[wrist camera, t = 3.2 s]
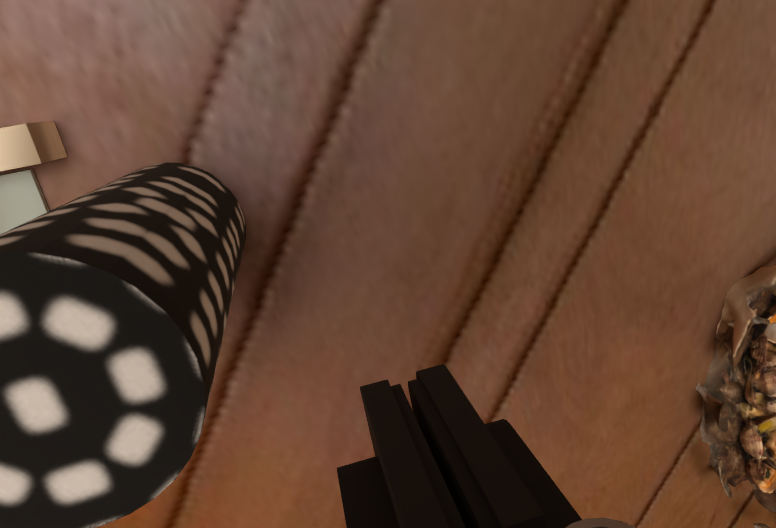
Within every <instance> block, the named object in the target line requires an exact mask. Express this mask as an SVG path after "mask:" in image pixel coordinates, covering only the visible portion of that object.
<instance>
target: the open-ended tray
mask: <svg viewBox="0 0 776 528" xmlns="http://www.w3.org/2000/svg"><path fill="white" fill-rule="evenodd" d="M65 157H67V154H66V152H65V149H64V146H63V144H62V141H61V138H60V136H59V133H58V131H57V128H56V125H55V123H54V122H41V123H28V124H21V125H16V126H10V127H5V128H0V171H5V170H10V169H15V168H20V167H25V166H31V165H36V164H41V163H45V162H49V161H53V160H57V159H61V158H65ZM49 211H50V210H49V208H48V205H47V203H46V200H45V198H44V195H43V193H42V191H41V188H40V186H39V183H38V181H37V178H36V176H35V173H34V171H33V169H31V170H26V171H21V172H16V173H11V174H5V175H0V234H2V233H4V232H7V231H9V230H11V229H13V228H15V227H17V226H19V225H21V224H24V223H26V222H28V221H30V220H32V219H34V218H36V217H38V216H41V215H43V214H45V213H47V212H49Z"/></svg>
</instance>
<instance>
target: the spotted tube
mask: <svg viewBox="0 0 776 528" xmlns="http://www.w3.org/2000/svg"><path fill="white" fill-rule="evenodd" d="M245 239H246V225H245V221H244V216H243V212H242V210H241V208H240V206H239V203H238V201H237V200H236V198H235V197H234V195H233V194H232V193H231V191H230V190H229V189H228V188H227V187H226V186H225V185H224V184H223V183H222V182H221V181H220V180H219V179H217V178H216V177H214V176H213V175H211V174H210V173H208V172H206V171H204V170H201V169H199V168H197V167H194V166H190V165H185V164H181V163H161V164H154V165H150V166H147V167H144V168H141V169H139V170H136V171H134V172H132V173H130V174H128V175H126V176H124V177H121V178H119V179H117V180H115V181H113V182H111V183H109V184H107V185H104V186H102V187H100V188H98V189H96V190H94V191H92V192H90V193H87V194H85V195H83V196H81V197H79V198H77V199H75V200H73V201H70V202H68V203H66V204H64V205H62V206H60V207H58V208H56V209H53V210H51V211H49V212H47V213H45V214H43V215H41V216H38V217H36V218H34V219H32V220H30V221H28V222H26V223H24V224H21V225H19V226H17V227H15V228H13V229H11V230H9V231H7V232H4V233H2V234H0V528H94V527H98V526H102V525H105V524H107V523H109V522H112V521H114V520H117V519H119V518H121V517H124V516H126V515H129V514H130V513H132V512H134V511H135V510H137V509H138V508H140V507H142V506H143V505H145V504H146V503H148V502H150V501H151V500H153V499H154V498H155V497H156V496H158V495H159V494H160V493H161V492H162V491H163V490H164V489H165V488H166V487H167V486H169V485H170V484H171V483H172V482H173V481H174V480H175V479H176V477H177V476H178V474H179V473H180V472H181V470H182V469H183V468H184V466H185V465H186V464H187V462H188V461H189V460H190V458H191V455H192V453H193V451H194V449H195V446H196V444H197V442H198V440H199V438H200V435H201V431H202V426H203V422H204V418H205V413H206V409H207V405H208V400H209V396H210V392H211V387H212V383H213V379H214V374H215V370H216V366H217V361H218V357H219V353H220V348H221V344H222V340H223V335H224V331H225V327H226V322H227V318H228V314H229V309H230V305H231V301H232V296H233V292H234V288H235V283H236V279H237V275H238V270H239V266H240V262H241V257H242V253H243V249H244V244H245Z"/></svg>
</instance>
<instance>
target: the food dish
mask: <svg viewBox="0 0 776 528" xmlns="http://www.w3.org/2000/svg"><path fill="white" fill-rule="evenodd" d="M715 339H716V347H715V353H714V356H713V359H712V362H711V366H710V368H709V373H708V376H707V378H706V382H705V385H704V386H702V387H700V383H699V384H698V385H697V387H696V388H695V389H696V390H697V391H698V392H699V393H700V395H701V396H702V416H703V417H702V422H701V426H700V430H701V438H702V442H706V443H707V444H709V446H710V451H711V455H710V461H709V464H710V465H711V466H712V467H713V468H714V470H715V471H716V473H717V474H718V476H719V477H720V480H721V484H722V485H723V488H724V489H725V491H726V494H727V496H728V497H730V498H731V497H732V492H731V490H730V488H729V486H728V483H729V484H730V485H731V486H734V487H735V486H737V485H738V484H739V483H740V482H741V481H744V480H747V479H748V480H749V481H750V482H751V485H752V486H753V491H754V494H755V497H756V499H758V500H759V501H760V502H761V503H762V505H763V506H764V507H765V508H766V509H768V510H770V511H772V512H775V513H776V264H775V265H773V266H771V267H761V268H759V269H758V270H756V271H755V272H754V273H753V274H750V275H747V276H745V277H743V278H741V279H740V280H739V281H737V282H736V283H735V284H734V285H733V286H732V287H731V289H730V290H729V292H728V293H727V295H726V297H725V302H724V308H723V310H722V317H721V320H720V322H719V324H718V327H717V332H716V338H715ZM753 525H754V527H755V528H769V527H768V526H767V525H765V524H759V523H758V524H753Z"/></svg>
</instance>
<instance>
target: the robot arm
mask: <svg viewBox="0 0 776 528" xmlns="http://www.w3.org/2000/svg"><path fill="white" fill-rule="evenodd" d="M416 378H417V379H416V380H412V381H408V388H409V393H410V398H411V404H412V409H413V411H412V409H411V406H410V404H409V402H408V400H407V398H406V396H405V393H404V391H403V389H402V387H401V385H400V384H397V385H394V386H390V384H389V382H388V380H383V381H380V382H376V383H372V384H369V385H365V386H361V387H360V390H361V395H362V400H363V404H364V408H365V413H366V417H367V421H368V426H369V430H370V435H371V439H372V443H373V448H374V452H375V456H376V457H372V458H369V459H366V460H362V461H359V462H355V463H352V464H349V465H345V466H342V467H338V468H337V472H338V479H339V485H340V491H341V496H342V502H343V508H344V514H345V520H346V526H347V528H636V527H634V526H632V525H629V524H627V523H624V522H622V521H618V520H612V519H607V518H590V519H584V520H582V519H581V518H580V516H579V515H578V514H577V512H576V511H575V510H574V508H573V507H572V506H571V504H570V503H569V502H568V500H567V499H566V498H565V496H564V495H563V494H562V492H561V491H560V490H559V488H558V487H557V486H556V484H555V483H554V482H553V480H552V479H551V478H550V476H549V475H548V474H547V472H546V471H545V470H544V468H543V467H542V466H541V464H540V463H539V462H538V460H537V459H536V458H535V456H534V455H533V454H532V452H531V451H530V450H529V448H528V447H527V446H526V444H525V443H524V442H523V440H522V439H521V438H520V436H519V435H518V434H517V432H516V431H515V430H514V428H513V427H512V426H511V424H510V423H509V422H508V421H507V420H504V419H501V420H498V421H495V422H491V423H488V424H484V423H483V421H482V420H481V418H480V417H479V415H478V414H477V412H476V411H475V409H474V408H473V406H472V405H471V403H470V402H469V400H468V399H467V397H466V396H465V394H464V393H463V391H462V390H461V388H460V387H459V385H458V384H457V382H456V381H455V379H454V378H453V376H452V375H451V373H450V372H449V370H448V369H447V367H446V366H445V365H444V364H442V365H438V366H434V367H431V368H427V369H423V370H420V371H417V372H416Z"/></svg>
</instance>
